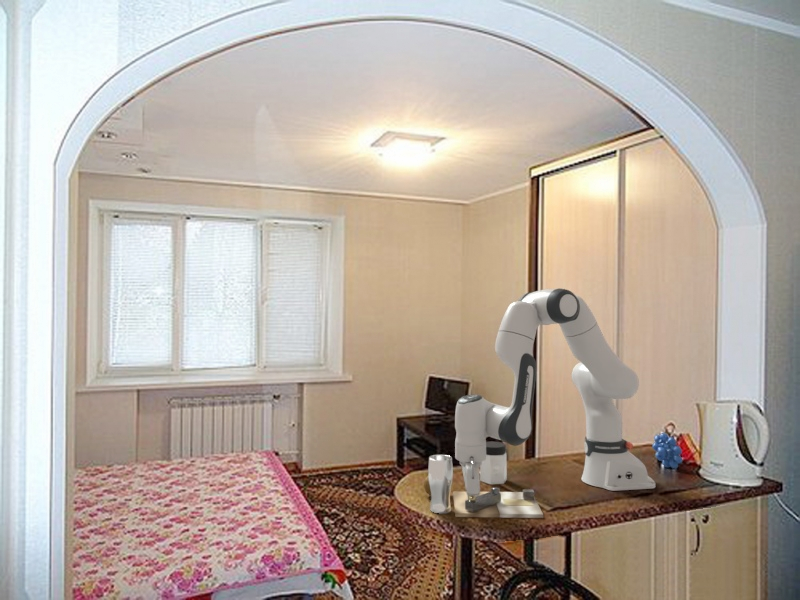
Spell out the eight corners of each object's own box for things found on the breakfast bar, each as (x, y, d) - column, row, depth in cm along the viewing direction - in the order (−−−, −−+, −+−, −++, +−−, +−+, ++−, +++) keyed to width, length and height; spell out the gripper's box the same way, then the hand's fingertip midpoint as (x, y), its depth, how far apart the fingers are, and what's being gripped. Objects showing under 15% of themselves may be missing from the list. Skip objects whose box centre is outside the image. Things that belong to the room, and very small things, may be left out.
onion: (452, 493, 179) (452, 467, 179) (443, 501, 172) (443, 474, 172) (430, 490, 182) (430, 464, 182) (419, 498, 175) (419, 471, 175)
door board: (531, 495, 177) (531, 484, 177) (543, 517, 159) (543, 505, 159) (452, 494, 178) (452, 483, 178) (455, 516, 160) (455, 504, 160)
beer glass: (425, 512, 163) (425, 459, 163) (432, 504, 170) (432, 453, 170) (449, 516, 161) (448, 462, 161) (455, 507, 167) (455, 455, 167)
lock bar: (494, 498, 170) (493, 486, 170) (502, 501, 168) (502, 488, 168) (465, 509, 162) (465, 496, 162) (473, 512, 160) (473, 499, 160)
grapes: (644, 465, 208) (644, 431, 208) (657, 462, 211) (657, 429, 211) (673, 473, 197) (673, 438, 197) (686, 470, 201) (686, 436, 201)
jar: (483, 485, 187) (483, 448, 186) (477, 477, 195) (476, 441, 195) (510, 483, 188) (510, 447, 188) (502, 476, 196) (502, 440, 196)
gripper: (485, 463, 155) (485, 514, 155) (478, 443, 176) (479, 489, 176) (461, 462, 156) (461, 514, 156) (458, 443, 176) (458, 488, 176)
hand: (470, 500), depth 166 cm, fingers closed
